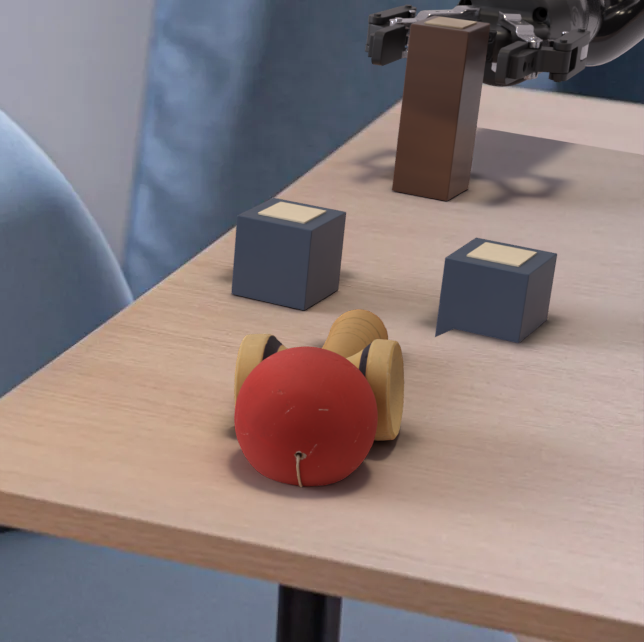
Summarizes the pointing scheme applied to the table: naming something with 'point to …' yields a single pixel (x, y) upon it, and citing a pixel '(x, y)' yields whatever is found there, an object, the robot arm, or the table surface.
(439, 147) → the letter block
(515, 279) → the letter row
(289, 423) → the kendama
